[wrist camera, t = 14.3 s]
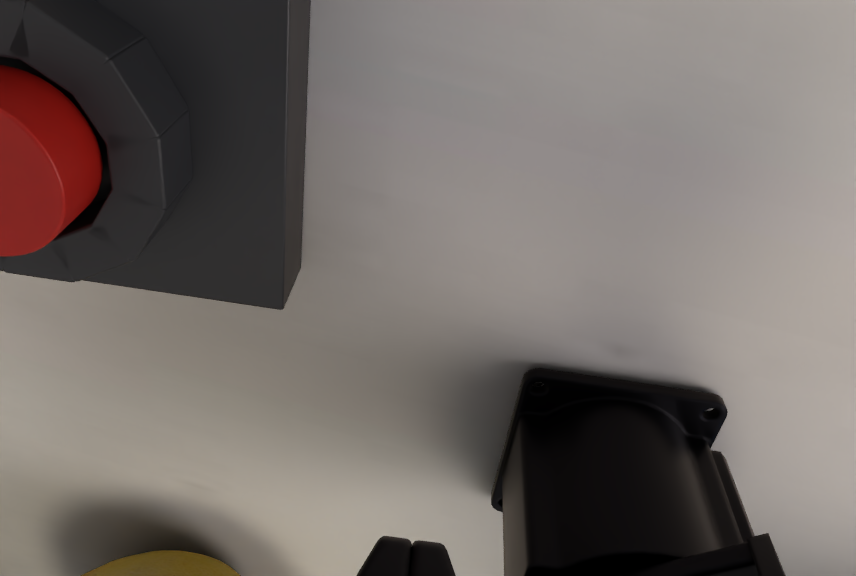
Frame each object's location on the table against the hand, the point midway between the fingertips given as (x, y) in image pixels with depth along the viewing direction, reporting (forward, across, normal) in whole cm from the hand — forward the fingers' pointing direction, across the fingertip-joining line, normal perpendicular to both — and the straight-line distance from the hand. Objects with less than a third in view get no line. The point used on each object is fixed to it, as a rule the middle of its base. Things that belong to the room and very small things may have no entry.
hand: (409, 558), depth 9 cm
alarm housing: (+12, +10, -1) cm, 15 cm away
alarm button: (+8, +9, -1) cm, 13 cm away
